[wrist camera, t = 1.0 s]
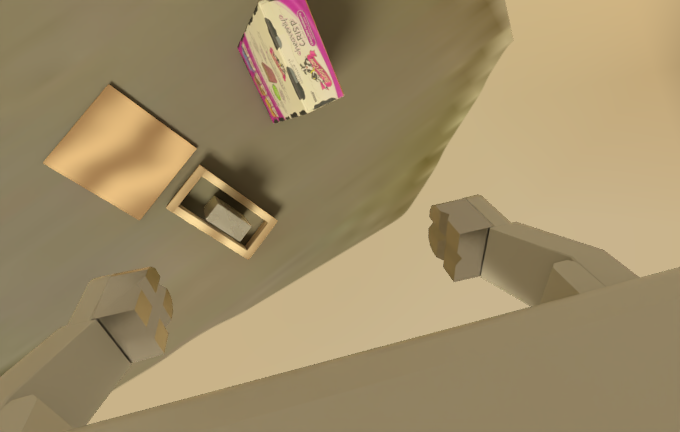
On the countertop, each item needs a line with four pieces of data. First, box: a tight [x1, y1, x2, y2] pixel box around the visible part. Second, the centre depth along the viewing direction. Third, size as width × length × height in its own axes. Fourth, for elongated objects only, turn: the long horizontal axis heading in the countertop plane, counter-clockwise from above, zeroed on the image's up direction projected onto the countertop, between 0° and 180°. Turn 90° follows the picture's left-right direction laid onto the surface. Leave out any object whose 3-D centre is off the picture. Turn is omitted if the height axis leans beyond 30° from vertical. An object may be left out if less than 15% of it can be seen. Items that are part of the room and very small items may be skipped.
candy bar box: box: [238, 0, 344, 123], centre depth 42 cm, size 11×5×16 cm, turn 25°
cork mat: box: [43, 84, 197, 220], centre depth 44 cm, size 12×12×1 cm
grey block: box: [204, 195, 252, 241], centre depth 47 cm, size 5×2×8 cm, turn 51°
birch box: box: [166, 164, 278, 260], centre depth 49 cm, size 13×7×2 cm, turn 51°
